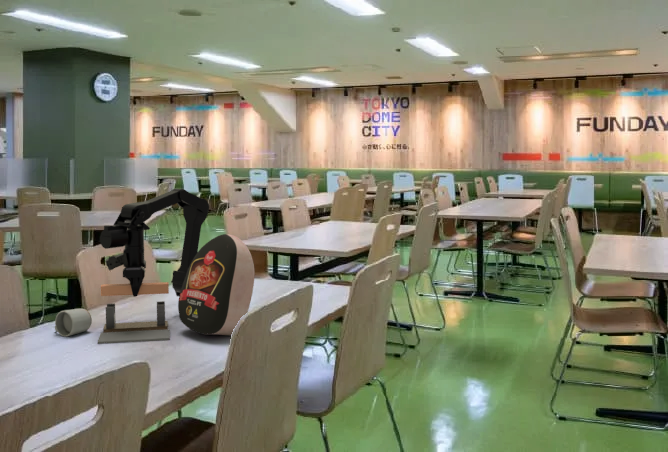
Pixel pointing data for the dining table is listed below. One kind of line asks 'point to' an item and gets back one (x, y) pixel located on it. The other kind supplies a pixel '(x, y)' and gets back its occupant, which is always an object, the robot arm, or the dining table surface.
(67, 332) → the ceramic mug
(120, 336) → the mat
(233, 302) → the packaged food
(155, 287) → the rail
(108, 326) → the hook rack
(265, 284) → the dining table surface
